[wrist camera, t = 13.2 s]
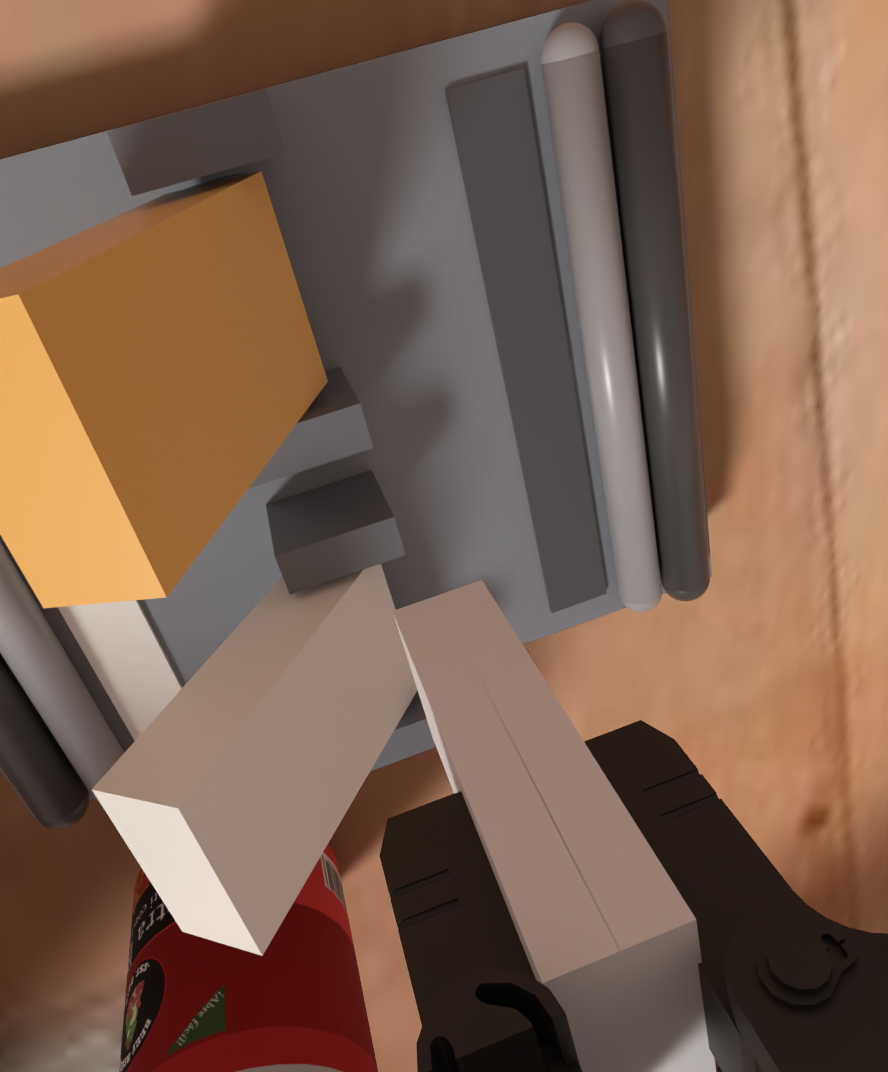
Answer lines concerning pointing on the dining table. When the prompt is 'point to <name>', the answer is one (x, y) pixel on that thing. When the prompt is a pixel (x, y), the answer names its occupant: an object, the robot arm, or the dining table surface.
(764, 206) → the dining table surface
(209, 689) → the block
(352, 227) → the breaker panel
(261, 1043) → the canned food
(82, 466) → the block
